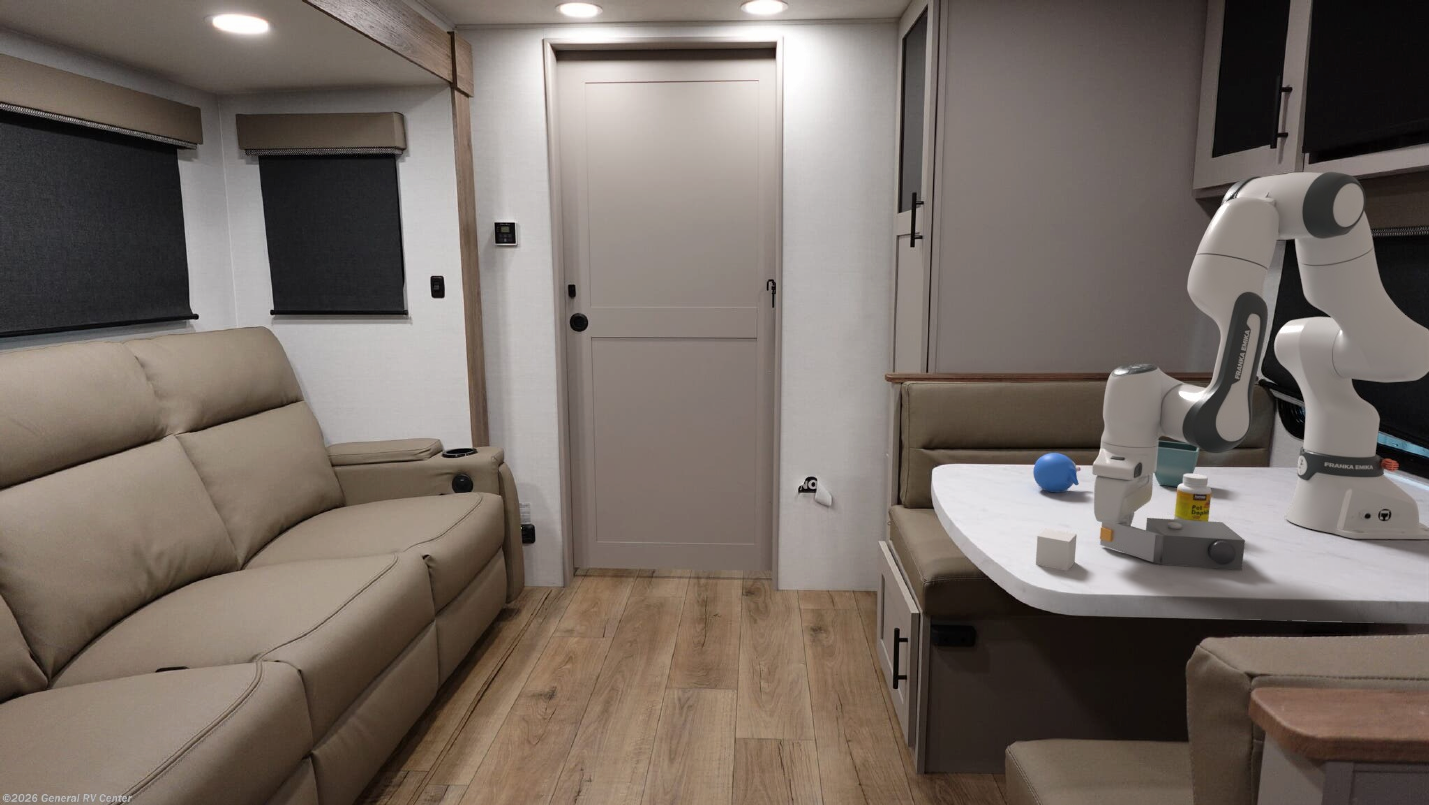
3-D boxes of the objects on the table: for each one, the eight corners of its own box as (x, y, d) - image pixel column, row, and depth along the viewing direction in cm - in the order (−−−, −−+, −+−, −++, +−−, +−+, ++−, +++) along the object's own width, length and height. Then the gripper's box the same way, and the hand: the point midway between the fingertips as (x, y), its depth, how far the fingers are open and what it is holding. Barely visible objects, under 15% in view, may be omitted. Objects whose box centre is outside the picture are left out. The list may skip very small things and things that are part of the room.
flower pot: (1196, 483, 195) (1200, 444, 193) (1194, 491, 187) (1197, 451, 186) (1153, 478, 199) (1156, 439, 198) (1149, 486, 192) (1152, 446, 190)
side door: (1103, 544, 151) (1105, 518, 150) (1161, 562, 142) (1163, 535, 141) (1097, 545, 150) (1099, 519, 149) (1155, 564, 141) (1157, 537, 140)
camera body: (1219, 550, 149) (1222, 518, 148) (1245, 573, 138) (1249, 539, 137) (1144, 545, 151) (1147, 514, 151) (1164, 567, 140) (1167, 534, 139)
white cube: (1074, 562, 143) (1076, 533, 142) (1067, 571, 139) (1069, 541, 138) (1043, 556, 146) (1045, 528, 145) (1035, 565, 142) (1037, 536, 141)
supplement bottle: (1188, 534, 158) (1194, 480, 156) (1166, 525, 163) (1171, 473, 161) (1214, 532, 159) (1220, 478, 157) (1191, 523, 164) (1196, 471, 162)
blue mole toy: (1101, 494, 185) (1104, 455, 184) (1061, 500, 180) (1064, 461, 179) (1057, 481, 196) (1059, 445, 194) (1018, 487, 191) (1020, 450, 189)
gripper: (1127, 446, 157) (1121, 520, 159) (1088, 466, 142) (1083, 547, 144) (1165, 451, 153) (1159, 526, 155) (1129, 472, 138) (1123, 555, 140)
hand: (1122, 536), depth 150 cm, fingers closed
